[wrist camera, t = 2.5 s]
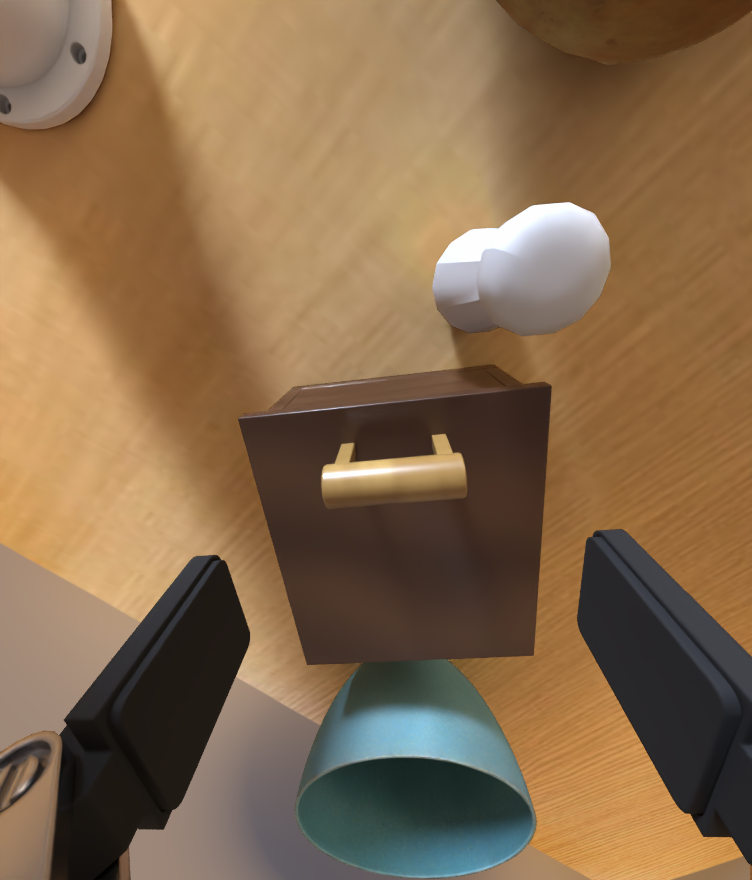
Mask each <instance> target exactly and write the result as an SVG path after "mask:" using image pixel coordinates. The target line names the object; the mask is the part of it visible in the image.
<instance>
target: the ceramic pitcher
mask: <svg viewBox="0 0 752 880" xmlns="http://www.w3.org/2000/svg"><path fill="white" fill-rule="evenodd" d="M497 2H498V3H499V4H500V5H501V6H502V7H503V8H504V9H505V11H506V12H507V13H508V14H509V15H510V16H511V17H512V18H513V19H514V20H515V21H516V22H517V23H518V24H519V25H520V26H522V27H523V28H525V29H526V30H528V31H529V32H531V33H532V34H534V35H535V36H537V37H538V38H540V39H542V40H543V41H545V42H547V43H549V44H550V45H552V46H554V47H556V48H557V49H559V50H561V51H563V52H565V53H569V54H573V55H578V56H582V57H586V58H588V59H590V60H593V61H596V62H598V63H602V64H606V65H613V64H618V63H622V62H629V61H636V60H643V59H650V58H656V57H659V56H662V55H665V54H668V53H671V52H673V51H676V50H680V49H683V48H687V47H689V46H692V45H694V44H696V43H699V42H701V41H703V40H705V39H707V38H709V37H711V36H713V35H715V34H717V33H719V32H721V31H723V30H724V29H726V28H727V27H729V26H730V25H732V24H734V23H735V22H737V21H738V20H739V19H741V18H742V17H744V16H745V15H746V14H748V13H749V12H750V11H752V0H497Z"/></svg>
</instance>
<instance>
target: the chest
mask: <svg viewBox="0 0 752 880" xmlns="http://www.w3.org/2000/svg"><path fill="white" fill-rule="evenodd" d="M520 384H522V383H520V382H519V381H517V380H516V379H514V378H513V377H511V376H510V375H508V374H507V373H505V372H504V371H502V370H501V369H499V368H498V367H496V366H495V365H488V366H479V367H469V368H460V369H451V370H442V371H433V372H424V373H415V374H406V375H397V376H388V377H379V378H370V379H361V380H352V381H343V382H334V383H325V384H316V385H307V386H298V387H293V388H292V389H291V390H290V391H289V392H287V393H286V394H285V395H284V396H283V397H282V398H281V399H280V400H279V401H277V402H276V403H275V404H274V405H273V406H272V407H271V408H270V409H269V410H268V411H274V410H283V409H293V408H302V407H312V406H321V405H331V404H340V403H350V402H359V401H369V400H378V399H388V398H397V397H407V396H416V395H426V394H435V393H445V392H454V391H464V390H473V389H482V388H492V387H501V386H511V385H520Z"/></svg>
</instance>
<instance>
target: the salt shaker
mask: <svg viewBox="0 0 752 880" xmlns="http://www.w3.org/2000/svg"><path fill="white" fill-rule="evenodd" d="M610 269H611V260H610V247H609V237H608V236H607V234H606V232H605V231H604V229H603V227H602V226H601V224H600V222H599V221H598V219H597V217H596V216H595V214H594V213H591V212H589V211H587V210H585V209H583V208H581V207H578V206H576V205H574V204H572V203H570V202H567V203H555V204H543V205H534V206H531V207H529V208H528V209H526V210H524V211H523V212H521V213H520V214H518V215H517V216H515V217H513V218H512V219H510V220H509V221H507V222H506V223H504V224H503V225H502V226H501V227H500V228H499V229H497V228H488V229H474V230H470V231H469V232H467V233H466V234H464V235H462V236H461V237H459V238H458V239H456V240H455V241H453V242H452V243H450V245H449V246H448V248H447V249H446V251H445V252H444V254H443V255H442V257H441V258H440V259H439V261H438V262H437V265H436V270H435V275H434V281H433V286H432V288H433V293H434V297H435V301H436V306H437V309H438V311H439V312H440V313H441V314H442V315H443V317H444V318H445V319H446V320H447V322H448V323H449V324H450V325H451V326H454V327H456V328H458V329H461V330H463V331H465V332H468V333H477V332H489V331H492V330H494V329H496V328H499V327H502V328H505V329H507V330H509V331H511V332H514V333H516V334H518V335H520V336H531V335H543V334H551V333H555V332H557V331H559V330H561V329H563V328H565V327H567V326H569V325H571V324H573V323H575V322H577V321H579V320H580V319H581V318H582V317H583V316H584V315H585V314H586V312H587V311H588V310H589V309H590V308H591V307H592V305H593V304H594V303H595V302H596V301H597V299H598V298H599V297H600V295H601V293H602V290H603V287H604V285H605V282H606V279H607V277H608V274H609V271H610Z"/></svg>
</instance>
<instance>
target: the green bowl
mask: <svg viewBox="0 0 752 880" xmlns="http://www.w3.org/2000/svg"><path fill="white" fill-rule="evenodd" d="M295 818H296V822H297V824H298V827H299V829H300V830H301V832H302V833H303V835H304V836H305V837H306V838H307V840H308V841H309V842H310V843H312V844H313V845H314V846H315V847H316V848H318V849H319V850H320V851H322V852H323V853H325V854H326V855H328V856H330V857H332V858H334V859H336V860H338V861H340V862H342V863H344V864H347V865H349V866H352V867H355V868H358V869H361V870H365V871H368V872H372V873H377V874H381V875H386V876H393V877H400V878H416V879H432V878H433V879H435V878H451V877H458V876H464V875H469V874H475V873H479V872H482V871H485V870H488V869H491V868H493V867H496V866H498V865H500V864H502V863H504V862H506V861H508V860H510V859H512V858H513V857H515V856H517V855H518V854H519V853H520V852H521V851H522V850H523V849H524V848H525V847H526V846H527V845H528V844H529V842H530V841H531V839H532V837H533V835H534V833H535V830H536V822H537V821H536V815H535V811H534V808H533V805H532V801H531V798H530V795H529V792H528V789H527V786H526V783H525V780H524V778H523V775H522V773H521V770H520V768H519V765H518V763H517V761H516V758H515V756H514V754H513V751H512V749H511V747H510V745H509V743H508V741H507V739H506V737H505V735H504V733H503V731H502V729H501V727H500V725H499V724H498V722H497V720H496V718H495V717H494V715H493V713H492V712H491V710H490V709H489V707H488V705H487V704H486V702H485V701H484V699H483V698H482V696H481V695H480V694H479V692H478V691H477V690H476V688H475V687H474V686H473V685H472V683H471V682H470V681H469V680H468V679H467V678H466V677H465V676H464V675H463V674H462V672H461V671H460V670H459V669H457V668H456V667H455V666H454V665H453V664H452V663H451V662H450V661H449V660H448V659H439V660H415V661H390V662H366V663H363V664H362V665H361V666H360V667H359V668H358V669H357V670H356V671H355V672H354V673H353V674H352V675H351V676H350V678H349V679H348V680H347V681H346V683H345V684H344V685H343V687H342V688H341V690H340V691H339V693H338V694H337V696H336V697H335V699H334V701H333V702H332V704H331V706H330V708H329V710H328V712H327V714H326V715H325V717H324V719H323V722H322V724H321V726H320V728H319V731H318V733H317V735H316V738H315V740H314V743H313V745H312V748H311V751H310V753H309V756H308V759H307V762H306V765H305V768H304V772H303V775H302V779H301V782H300V786H299V790H298V795H297V799H296V803H295Z"/></svg>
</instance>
